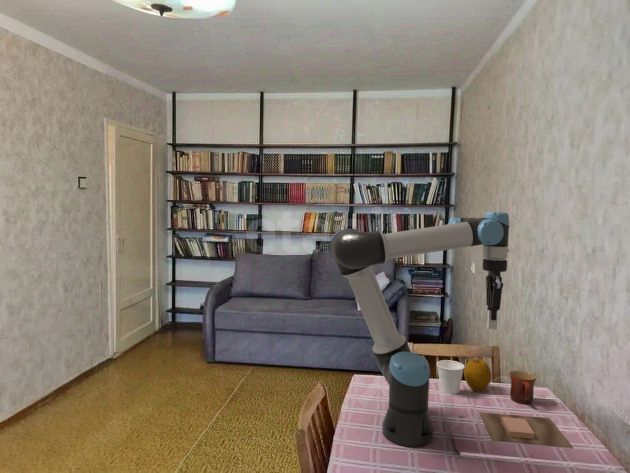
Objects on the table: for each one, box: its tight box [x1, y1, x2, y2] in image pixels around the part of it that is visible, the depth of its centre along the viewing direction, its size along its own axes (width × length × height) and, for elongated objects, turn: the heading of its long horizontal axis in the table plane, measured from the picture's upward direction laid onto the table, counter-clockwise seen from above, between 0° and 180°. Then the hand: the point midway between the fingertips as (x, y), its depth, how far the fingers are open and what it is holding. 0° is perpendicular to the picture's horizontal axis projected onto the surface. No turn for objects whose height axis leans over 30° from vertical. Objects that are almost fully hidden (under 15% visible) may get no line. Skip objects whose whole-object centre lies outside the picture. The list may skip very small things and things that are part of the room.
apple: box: [463, 358, 492, 392], centre depth 166 cm, size 10×10×12 cm
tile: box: [501, 417, 535, 439], centre depth 133 cm, size 7×2×9 cm
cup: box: [436, 359, 466, 395], centre depth 161 cm, size 10×10×11 cm
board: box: [478, 411, 574, 449], centre depth 134 cm, size 22×18×1 cm
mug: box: [508, 369, 538, 405], centre depth 153 cm, size 12×9×10 cm
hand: (492, 328), depth 146 cm, fingers closed
